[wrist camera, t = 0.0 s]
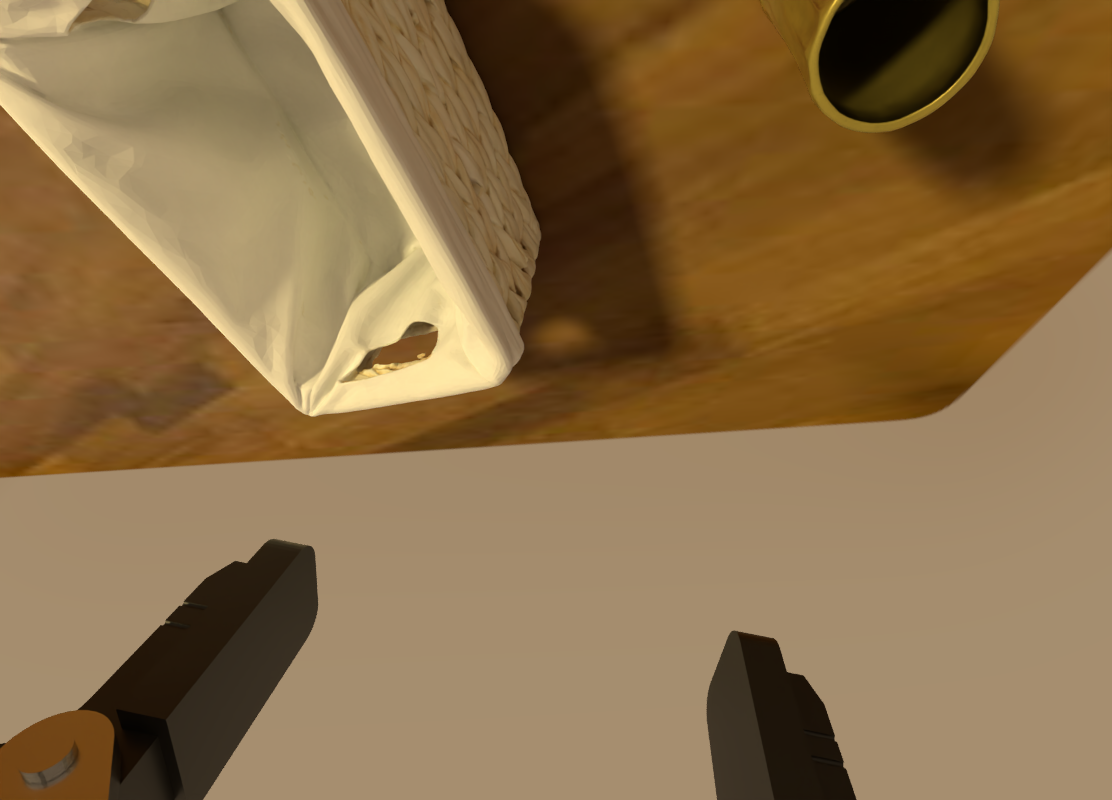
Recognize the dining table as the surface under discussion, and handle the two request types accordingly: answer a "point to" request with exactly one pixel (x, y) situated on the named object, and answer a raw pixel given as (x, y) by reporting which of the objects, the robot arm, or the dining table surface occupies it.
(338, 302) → the storage basket
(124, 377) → the dining table surface
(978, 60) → the vase
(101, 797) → the robot arm
